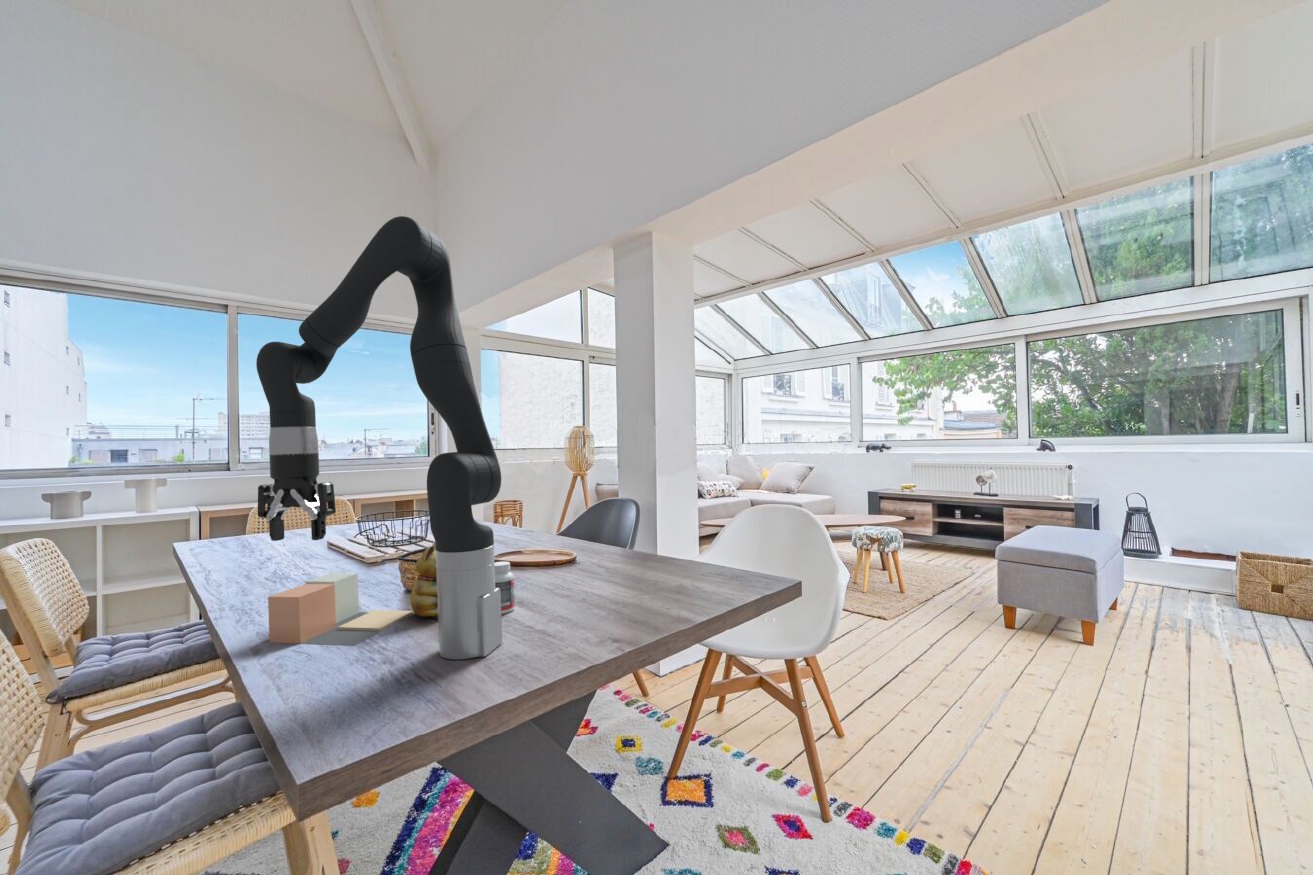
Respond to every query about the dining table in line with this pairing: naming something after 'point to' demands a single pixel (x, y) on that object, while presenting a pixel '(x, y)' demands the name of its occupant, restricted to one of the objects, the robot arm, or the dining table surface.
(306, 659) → the dining table surface
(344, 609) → the pale green cube
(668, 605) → the dining table surface
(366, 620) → the mat
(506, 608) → the pill bottle
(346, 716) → the dining table surface
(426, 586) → the decorative figurine
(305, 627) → the clay brown brick
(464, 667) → the dining table surface
